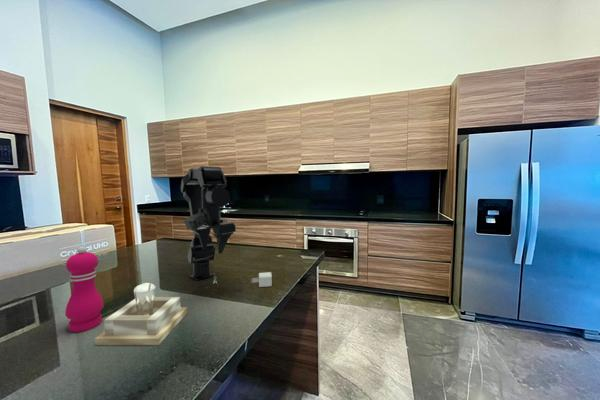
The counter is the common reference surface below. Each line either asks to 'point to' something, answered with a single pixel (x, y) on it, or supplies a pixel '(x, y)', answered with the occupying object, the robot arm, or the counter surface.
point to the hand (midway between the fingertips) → (212, 251)
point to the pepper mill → (83, 292)
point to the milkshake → (145, 298)
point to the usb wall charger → (263, 279)
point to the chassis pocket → (142, 323)
